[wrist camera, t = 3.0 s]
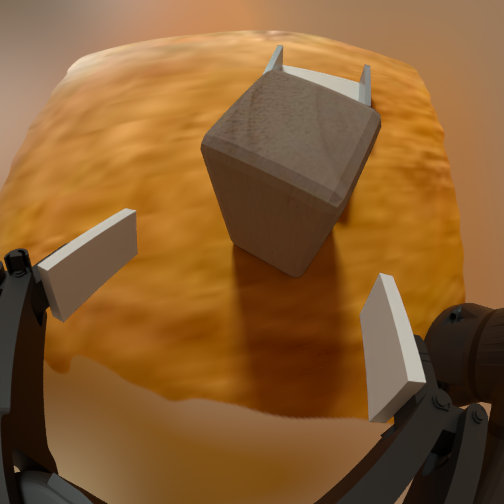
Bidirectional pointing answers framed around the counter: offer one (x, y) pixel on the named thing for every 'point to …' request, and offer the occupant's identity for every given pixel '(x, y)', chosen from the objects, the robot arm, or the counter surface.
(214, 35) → the counter surface
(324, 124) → the wooden block
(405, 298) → the counter surface
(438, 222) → the counter surface
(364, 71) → the walled bay
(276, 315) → the counter surface
